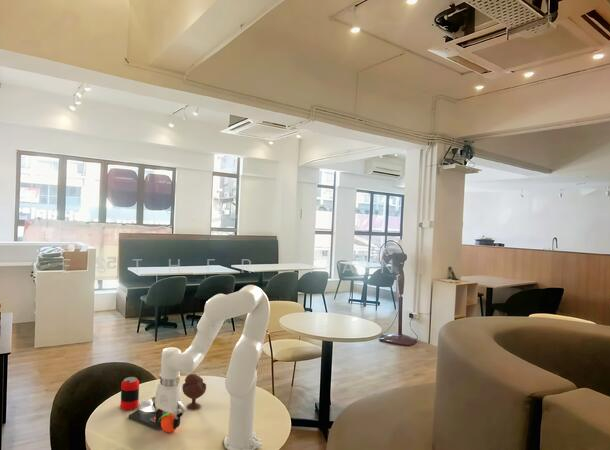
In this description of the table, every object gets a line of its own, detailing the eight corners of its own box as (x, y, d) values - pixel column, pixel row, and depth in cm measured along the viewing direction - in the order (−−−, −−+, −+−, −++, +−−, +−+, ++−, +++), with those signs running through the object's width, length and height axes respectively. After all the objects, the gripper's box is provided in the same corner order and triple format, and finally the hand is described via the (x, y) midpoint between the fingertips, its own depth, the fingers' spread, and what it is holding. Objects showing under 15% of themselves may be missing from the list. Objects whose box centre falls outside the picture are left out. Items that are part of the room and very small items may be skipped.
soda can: (117, 409, 160) (118, 381, 160) (126, 401, 168) (127, 375, 168) (132, 412, 159) (133, 384, 158) (141, 403, 166) (142, 377, 166)
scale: (179, 415, 157) (179, 408, 157) (158, 431, 145) (158, 423, 145) (150, 405, 165) (150, 398, 165) (127, 419, 153) (128, 411, 153)
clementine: (159, 437, 141) (159, 419, 141) (156, 428, 147) (157, 410, 147) (179, 434, 144) (180, 416, 144) (176, 424, 150) (176, 407, 150)
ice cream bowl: (201, 414, 159) (203, 380, 159) (177, 410, 161) (178, 376, 161) (208, 402, 169) (210, 370, 169) (185, 399, 172) (187, 367, 171)
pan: (169, 405, 160) (169, 403, 160) (152, 416, 150) (152, 414, 150) (150, 398, 165) (150, 396, 165) (132, 409, 155) (132, 407, 155)
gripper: (146, 377, 146) (144, 421, 146) (181, 389, 138) (179, 435, 138) (159, 371, 153) (156, 413, 153) (193, 382, 144) (190, 426, 145)
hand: (167, 423), depth 145 cm, fingers open, 8 cm apart
